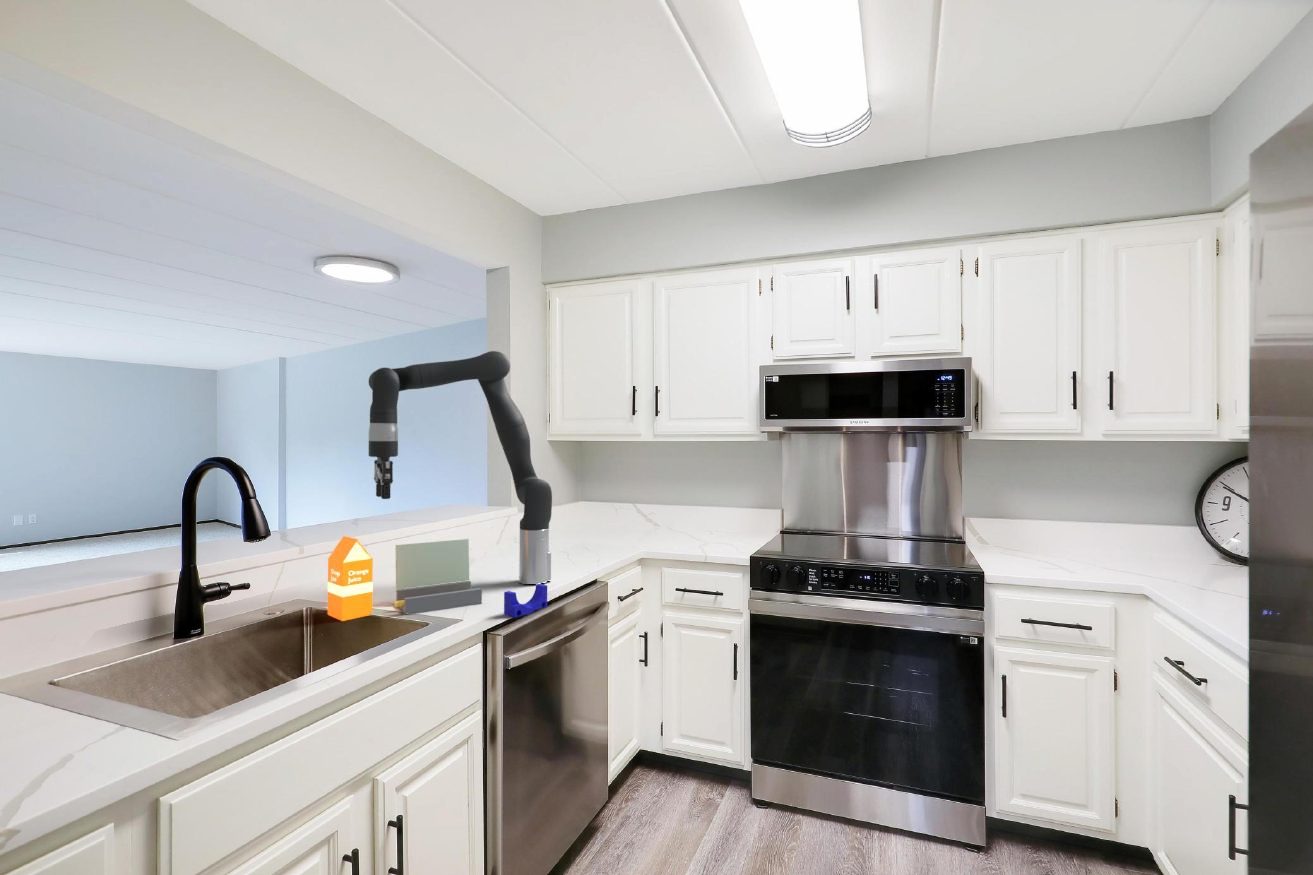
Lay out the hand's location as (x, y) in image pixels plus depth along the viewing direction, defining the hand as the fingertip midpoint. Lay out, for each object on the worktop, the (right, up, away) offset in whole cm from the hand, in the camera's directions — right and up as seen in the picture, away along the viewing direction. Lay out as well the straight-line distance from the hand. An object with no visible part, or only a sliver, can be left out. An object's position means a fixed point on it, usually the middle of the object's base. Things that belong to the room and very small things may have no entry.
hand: (383, 497), depth 167 cm
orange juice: (-3, -29, -12) cm, 32 cm away
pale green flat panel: (+13, -19, +4) cm, 23 cm away
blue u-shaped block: (+42, -30, -8) cm, 52 cm away
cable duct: (+16, -29, -1) cm, 34 cm away
